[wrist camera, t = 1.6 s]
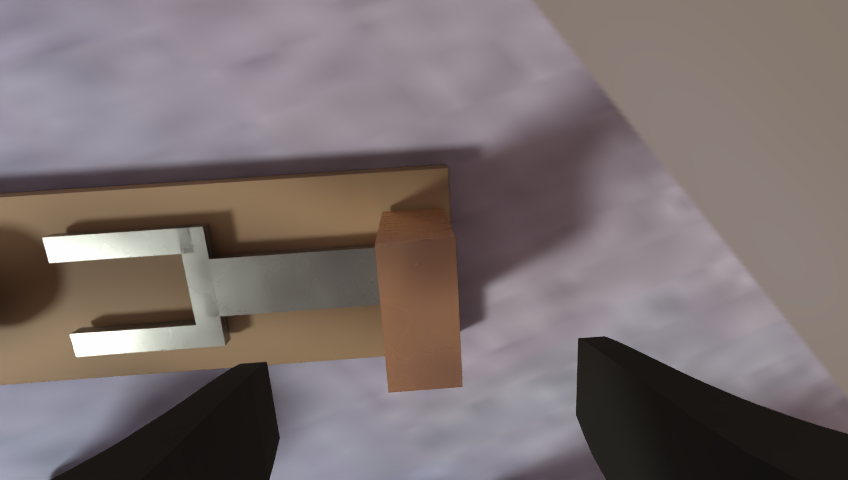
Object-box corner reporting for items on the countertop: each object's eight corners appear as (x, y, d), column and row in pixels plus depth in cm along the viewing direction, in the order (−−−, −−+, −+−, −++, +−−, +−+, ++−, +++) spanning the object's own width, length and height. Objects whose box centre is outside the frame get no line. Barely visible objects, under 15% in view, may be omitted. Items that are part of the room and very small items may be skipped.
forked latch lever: (455, 322, 20) (471, 385, 15) (86, 349, 19) (-15, 423, 15) (450, 206, 18) (466, 237, 14) (53, 233, 18) (-69, 274, 13)
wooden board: (453, 335, 22) (456, 350, 20) (-23, 370, 21) (-55, 389, 20) (444, 164, 20) (448, 167, 18) (-84, 198, 19) (-123, 205, 18)
